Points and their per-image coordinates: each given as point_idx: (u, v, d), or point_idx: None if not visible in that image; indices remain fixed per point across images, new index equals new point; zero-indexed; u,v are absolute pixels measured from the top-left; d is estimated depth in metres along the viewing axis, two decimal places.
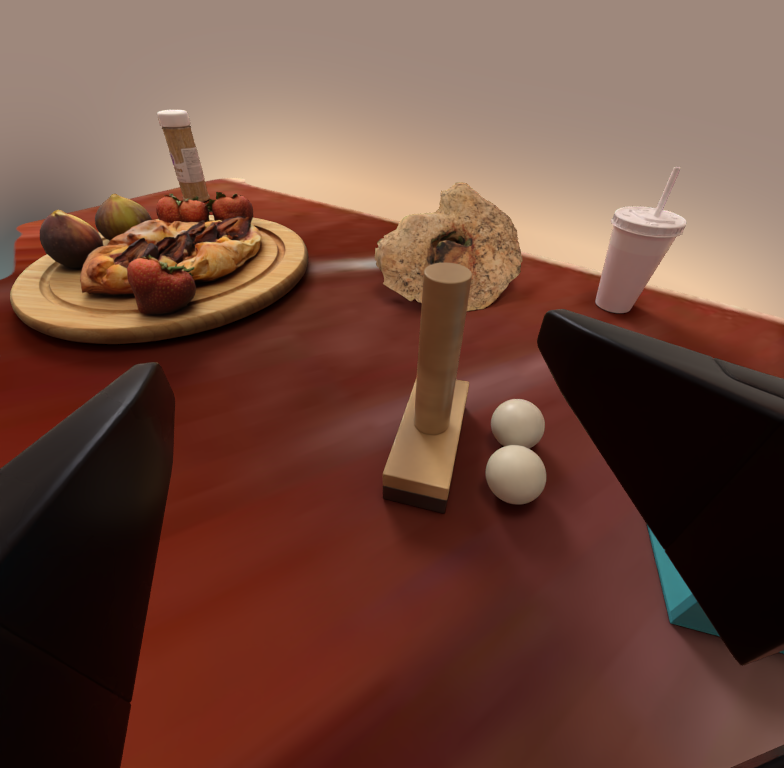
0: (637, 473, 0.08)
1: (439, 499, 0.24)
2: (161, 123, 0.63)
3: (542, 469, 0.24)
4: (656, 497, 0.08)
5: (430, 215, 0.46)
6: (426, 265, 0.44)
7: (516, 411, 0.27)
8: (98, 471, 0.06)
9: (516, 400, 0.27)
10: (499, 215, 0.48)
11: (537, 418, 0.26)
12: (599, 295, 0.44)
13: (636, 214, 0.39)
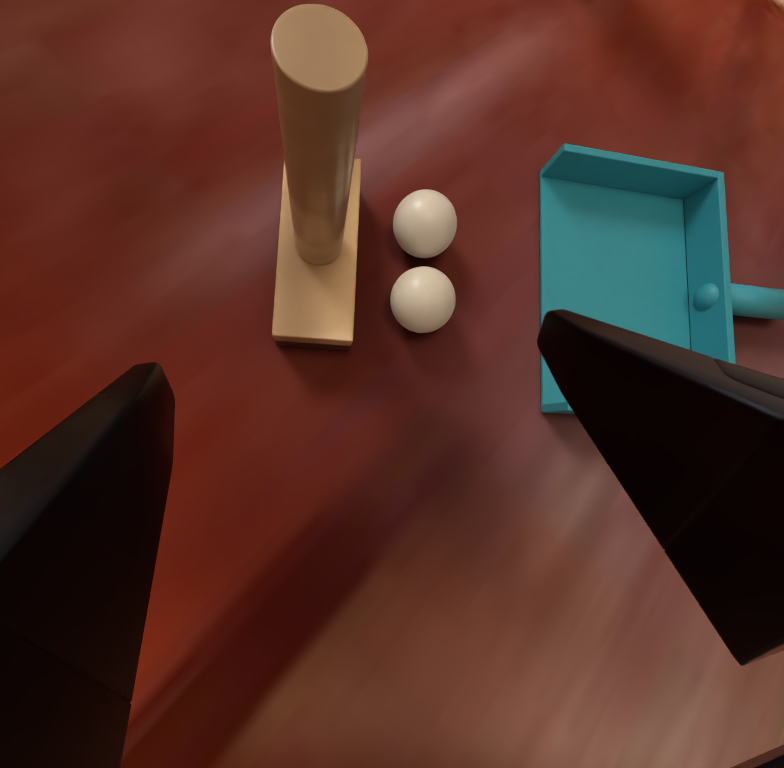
0: (638, 473, 0.08)
1: (342, 345, 0.21)
2: None
3: (453, 298, 0.21)
4: (656, 497, 0.08)
5: None
6: None
7: (425, 217, 0.21)
8: (98, 471, 0.06)
9: (425, 196, 0.21)
10: None
11: (449, 222, 0.21)
12: None
13: None
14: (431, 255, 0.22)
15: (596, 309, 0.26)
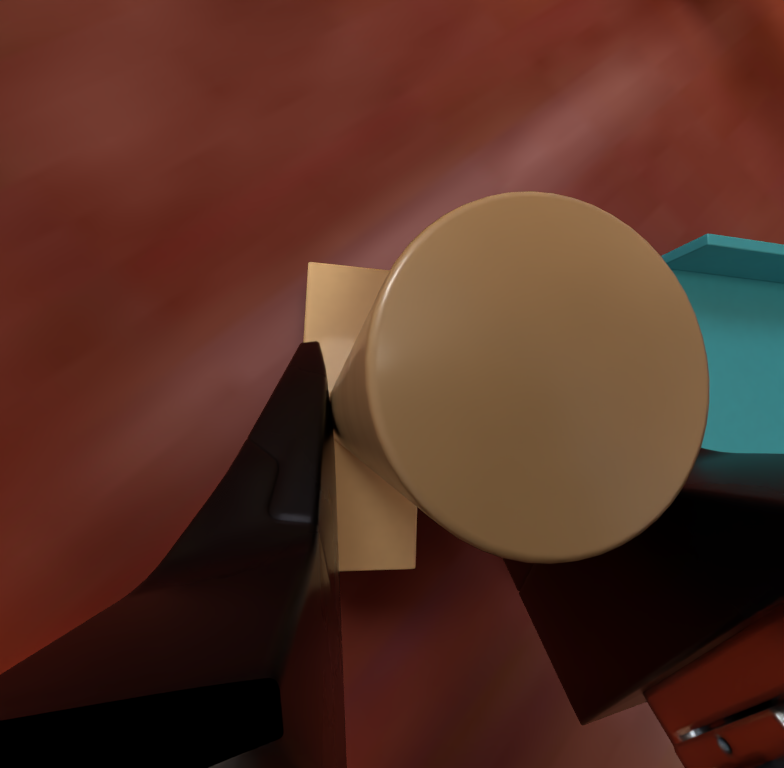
0: None
1: None
2: None
3: None
4: None
5: None
6: None
7: None
8: (325, 431, 0.06)
9: None
10: None
11: None
12: None
13: None
14: None
15: None
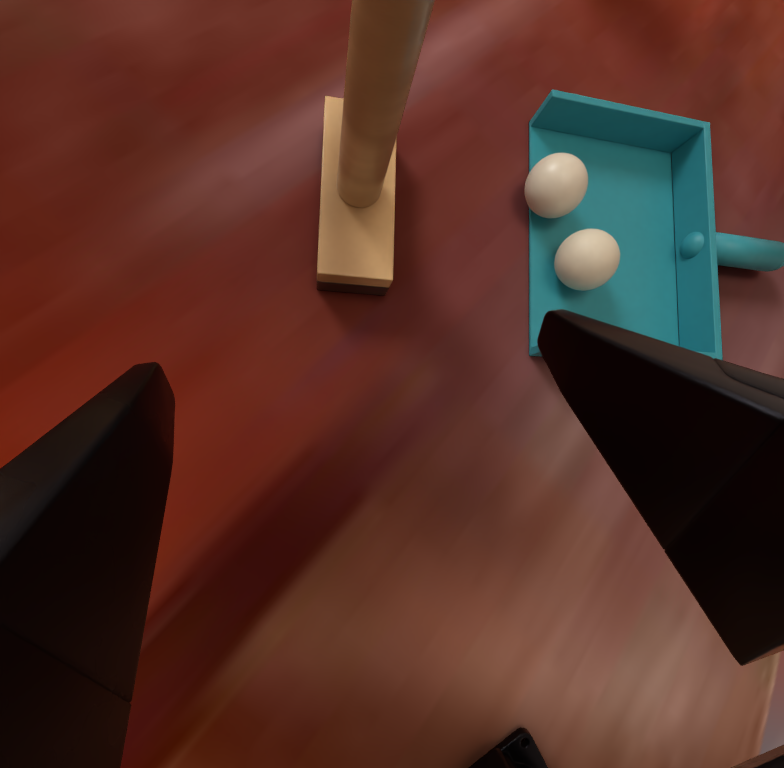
0: (637, 473, 0.08)
1: (381, 287, 0.22)
2: None
3: (619, 255, 0.23)
4: (656, 497, 0.08)
5: None
6: None
7: (530, 191, 0.24)
8: (98, 471, 0.06)
9: (529, 173, 0.24)
10: None
11: (552, 178, 0.23)
12: None
13: None
14: (564, 209, 0.24)
15: None
